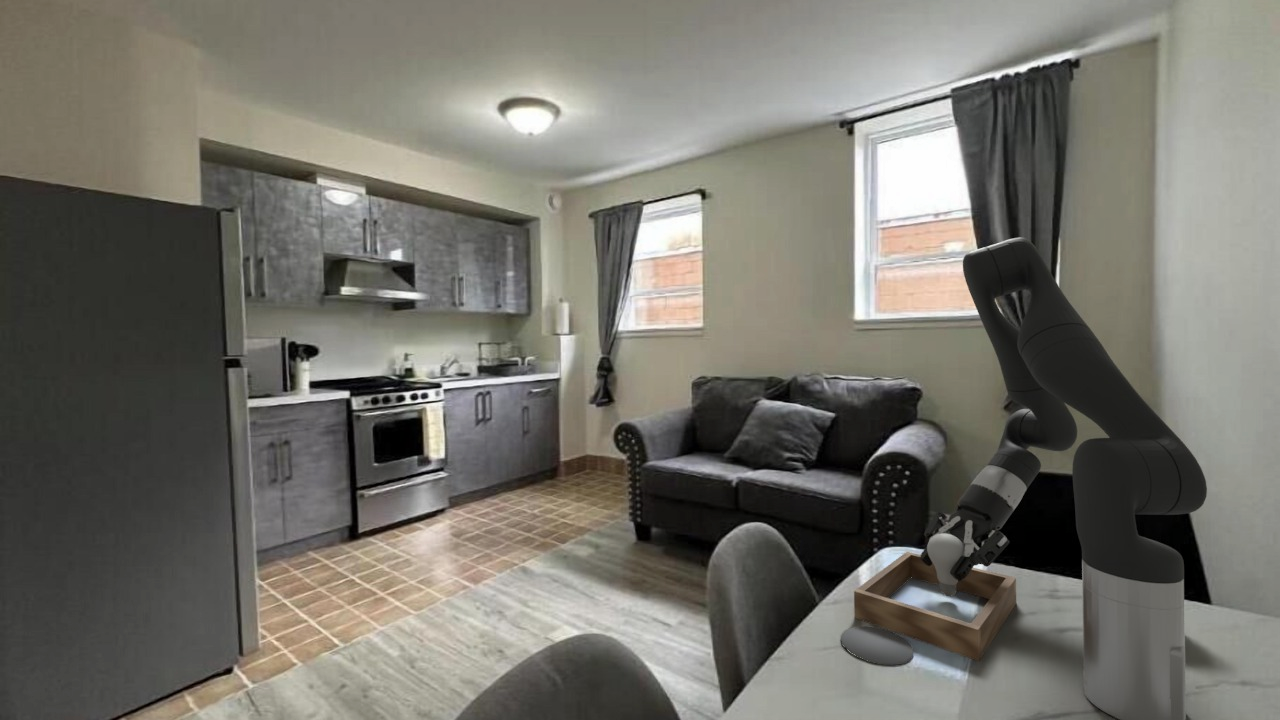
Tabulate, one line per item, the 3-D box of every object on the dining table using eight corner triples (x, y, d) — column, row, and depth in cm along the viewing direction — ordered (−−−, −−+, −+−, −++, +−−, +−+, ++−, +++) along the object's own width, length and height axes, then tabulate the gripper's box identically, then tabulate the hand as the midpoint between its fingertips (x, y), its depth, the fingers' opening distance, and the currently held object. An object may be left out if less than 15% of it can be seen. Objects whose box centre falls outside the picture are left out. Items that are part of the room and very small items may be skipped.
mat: (923, 645, 80) (923, 642, 80) (898, 674, 73) (898, 671, 73) (857, 622, 87) (857, 619, 87) (829, 646, 80) (829, 643, 80)
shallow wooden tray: (1016, 603, 92) (1015, 577, 92) (978, 661, 76) (978, 629, 75) (907, 574, 105) (906, 551, 105) (854, 617, 88) (854, 591, 88)
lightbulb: (957, 589, 96) (955, 528, 96) (975, 604, 90) (973, 540, 90) (922, 588, 97) (920, 528, 97) (937, 603, 91) (935, 540, 91)
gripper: (947, 475, 102) (896, 543, 100) (1016, 493, 88) (960, 572, 86) (970, 500, 104) (921, 567, 101) (1042, 521, 90) (987, 600, 87)
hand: (939, 569), depth 93 cm, fingers closed on lightbulb, 6 cm apart
